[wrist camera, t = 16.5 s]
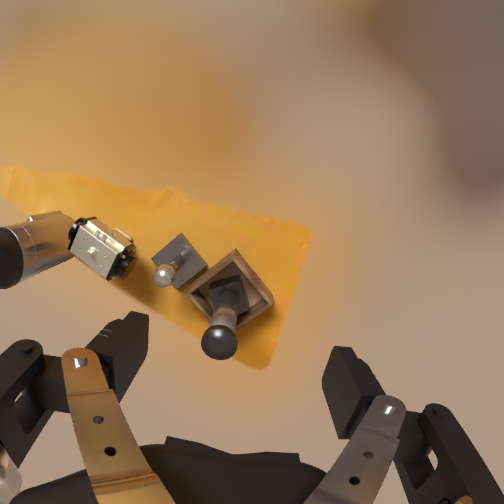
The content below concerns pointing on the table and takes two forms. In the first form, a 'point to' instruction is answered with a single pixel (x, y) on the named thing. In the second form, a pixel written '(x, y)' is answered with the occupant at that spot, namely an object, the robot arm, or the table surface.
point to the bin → (223, 269)
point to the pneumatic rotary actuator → (102, 248)
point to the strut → (224, 317)
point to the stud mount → (177, 263)
